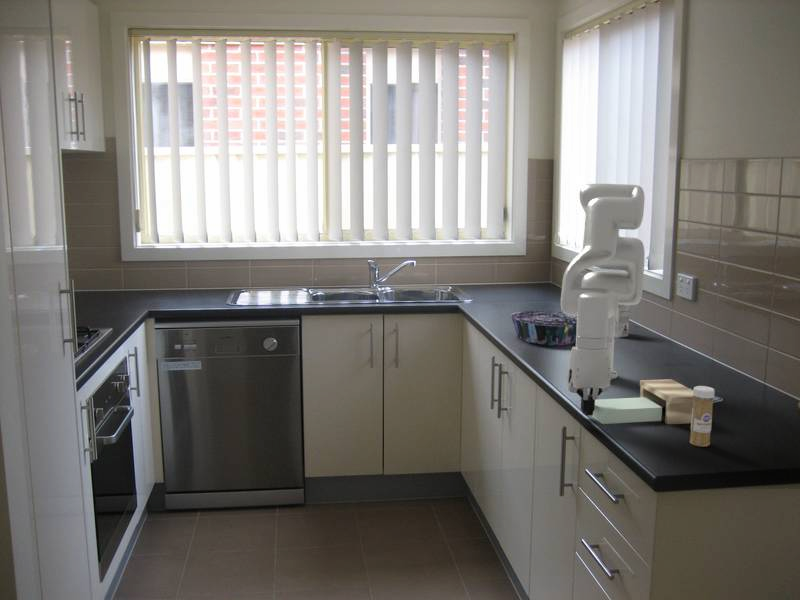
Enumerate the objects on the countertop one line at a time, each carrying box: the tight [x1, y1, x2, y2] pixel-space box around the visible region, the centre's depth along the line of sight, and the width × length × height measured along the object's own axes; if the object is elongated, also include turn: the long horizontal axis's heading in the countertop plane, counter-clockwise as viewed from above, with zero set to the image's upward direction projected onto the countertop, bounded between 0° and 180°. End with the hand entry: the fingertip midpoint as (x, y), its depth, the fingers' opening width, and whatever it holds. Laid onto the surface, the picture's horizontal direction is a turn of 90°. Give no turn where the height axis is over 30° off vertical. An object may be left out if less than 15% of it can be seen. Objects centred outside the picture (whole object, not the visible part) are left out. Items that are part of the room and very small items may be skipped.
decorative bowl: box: [509, 310, 577, 347], centre depth 304 cm, size 26×28×10 cm
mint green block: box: [590, 396, 663, 425], centre depth 215 cm, size 9×16×4 cm, turn 102°
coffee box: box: [614, 304, 631, 339], centre depth 312 cm, size 9×6×16 cm
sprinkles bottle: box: [689, 385, 715, 447], centre depth 195 cm, size 5×5×14 cm
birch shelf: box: [639, 378, 694, 425], centre depth 218 cm, size 16×9×7 cm, turn 12°
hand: (587, 413), depth 213 cm, fingers closed
